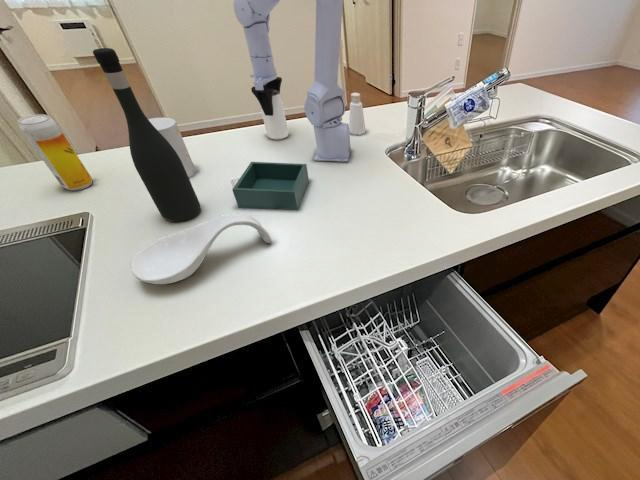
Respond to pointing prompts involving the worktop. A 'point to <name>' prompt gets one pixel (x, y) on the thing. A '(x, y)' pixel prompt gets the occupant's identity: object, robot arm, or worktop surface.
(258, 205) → the box
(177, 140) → the cup
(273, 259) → the worktop surface
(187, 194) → the wine bottle
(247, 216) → the spoon rest
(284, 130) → the can
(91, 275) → the worktop surface
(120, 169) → the worktop surface
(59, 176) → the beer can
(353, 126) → the pepper shaker
